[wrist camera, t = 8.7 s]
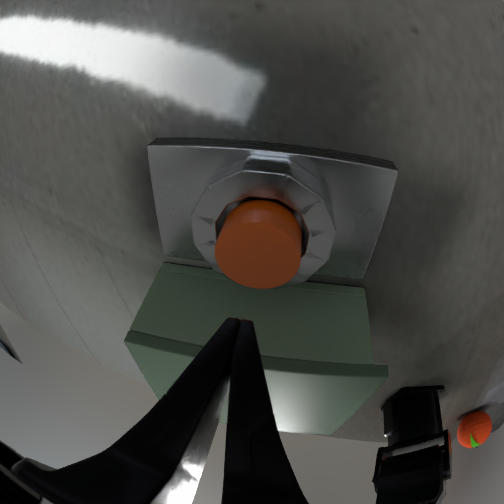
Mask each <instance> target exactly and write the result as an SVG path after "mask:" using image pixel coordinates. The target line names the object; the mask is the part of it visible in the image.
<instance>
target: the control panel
mask: <svg viewBox="0 0 504 504" xmlns="http://www.w3.org/2000/svg"><path fill="white" fill-rule="evenodd" d="M147 153H148V161H149V169H150V176H151V183H152V190H153V196H154V202H155V209H156V215H157V220H158V226H159V231H160V237H161V242H162V247H163V252H164V255H167V256H174V257H181V258H189V259H196V260H204V261H207V263H208V264H209V265H210V267H211V268H212V269H213V270H214V271H216V272H218V273H219V274H221V275H223V276H225V277H227V276H226V275H225V274H224V273H223V271H222V270H221V269H220V267H219V266H218V264H217V262H216V258H215V244H216V242H217V239H218V237H219V234H220V232H221V229H222V227H223V224H224V222H225V219H226V217H227V216H228V214H229V213H230V212H231V211H232V210H233V209H234V208H235V207H237V206H238V205H240V204H242V203H245V202H248V201H253V200H266V201H271V202H274V203H277V204H279V205H281V206H283V207H285V208H286V209H288V210H289V211H290V212H291V213H292V214H293V215H294V216H295V218H296V219H297V221H298V222H299V225H300V228H301V234H302V238H301V263H300V267H299V269H298V271H297V273H296V274H295V276H294V277H293V278H292V279H291V280H289V281H288V282H286V283H285V284H283V285H280V286H278V287H274V288H268V289H275V290H276V289H280V288H283V287H287V286H291V285H295V284H299V283H302V282H305V281H307V280H308V279H309V278H310V277H311V276H312V275H313V274H314V275H323V276H331V277H340V278H349V279H357V280H363V278H364V276H365V273H366V271H367V268H368V265H369V263H370V260H371V257H372V254H373V252H374V249H375V246H376V243H377V240H378V238H379V235H380V232H381V229H382V226H383V223H384V220H385V217H386V213H387V210H388V207H389V204H390V200H391V197H392V194H393V190H394V187H395V183H396V180H397V176H398V172H399V171H398V169H397V168H396V166H395V165H394V163H393V162H391V161H387V160H382V159H377V158H372V157H367V156H361V155H356V154H350V153H344V152H338V151H332V150H325V149H318V148H311V147H303V146H295V145H286V144H276V143H266V142H254V141H240V140H223V139H196V138H156V139H155V140H154V141H152V142H151V143H150V144H148V145H147ZM227 278H229V277H227ZM229 279H230V278H229ZM230 280H231V279H230ZM232 281H233V280H232ZM234 282H235V281H234ZM236 283H237V282H236ZM238 284H239V283H238ZM240 285H241V284H240Z"/></svg>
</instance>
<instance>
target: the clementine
mask: <svg viewBox="0 0 504 504" xmlns="http://www.w3.org/2000/svg"><path fill="white" fill-rule="evenodd" d="M491 429H492V421H491V418H490V416H489V415H488V414H487V413H485V412H482V411H475V412H472V413H470V414H468V415H467V416H466V417H465V418H464V419H463V420H462V421H461V423H460V425H459V427H458V431H457V438H458V441H459V442H460V444H461V445H463V446H464V447H467V448H473V447H477V446H479V445H481V444H482V443H484V442H485V440H486V439H487V438H488V437H489V435H490V433H491Z"/></svg>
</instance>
